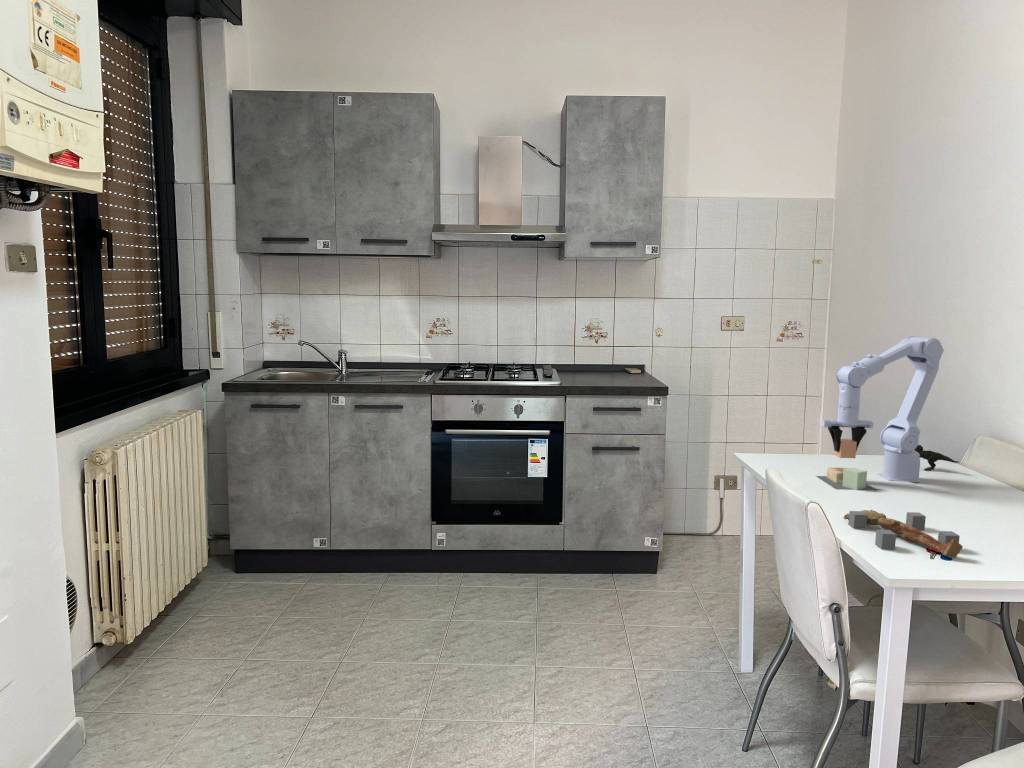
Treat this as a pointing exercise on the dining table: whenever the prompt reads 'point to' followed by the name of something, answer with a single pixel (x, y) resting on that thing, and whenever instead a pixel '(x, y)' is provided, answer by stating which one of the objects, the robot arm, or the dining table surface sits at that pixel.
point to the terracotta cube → (847, 449)
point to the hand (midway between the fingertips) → (845, 451)
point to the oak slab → (835, 474)
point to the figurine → (911, 533)
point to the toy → (932, 457)
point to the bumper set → (887, 537)
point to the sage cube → (854, 478)
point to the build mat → (839, 485)
